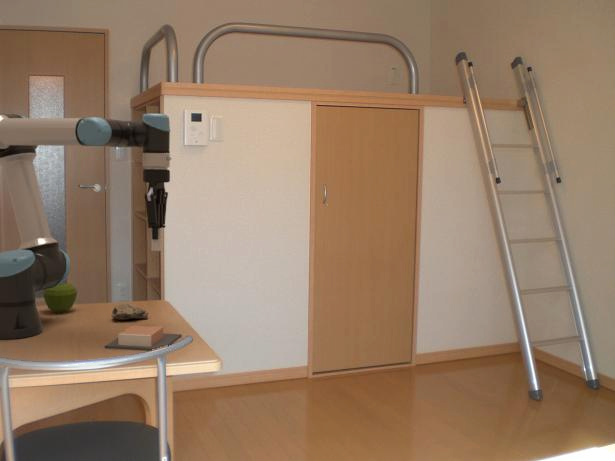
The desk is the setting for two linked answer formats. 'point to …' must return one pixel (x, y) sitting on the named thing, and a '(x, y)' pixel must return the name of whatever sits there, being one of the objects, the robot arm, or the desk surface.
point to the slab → (140, 336)
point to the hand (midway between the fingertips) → (156, 250)
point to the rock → (129, 312)
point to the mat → (163, 342)
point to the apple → (60, 297)
